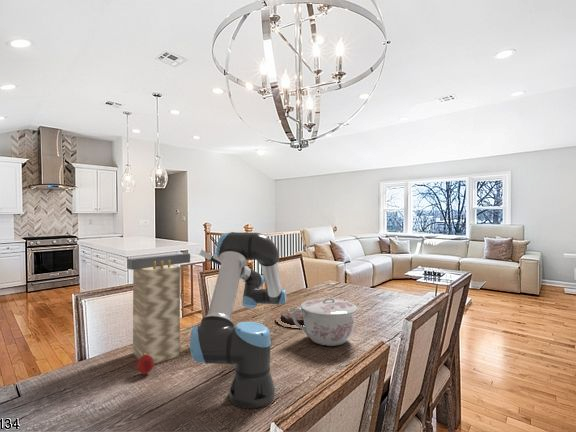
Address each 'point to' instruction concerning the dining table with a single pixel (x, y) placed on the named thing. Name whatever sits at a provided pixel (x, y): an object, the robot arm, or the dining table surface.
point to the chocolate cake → (287, 317)
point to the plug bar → (157, 260)
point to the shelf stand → (156, 312)
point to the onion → (145, 364)
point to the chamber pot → (327, 320)
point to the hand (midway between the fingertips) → (207, 253)
